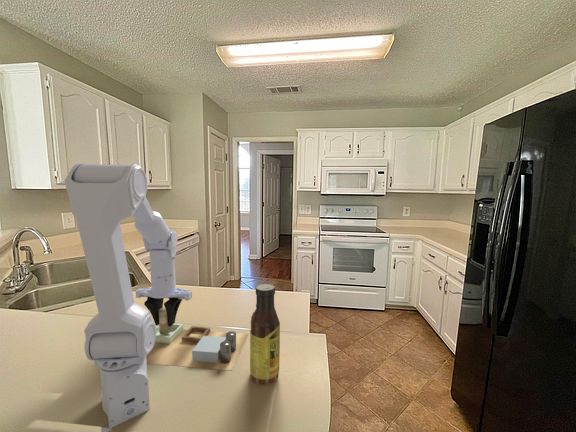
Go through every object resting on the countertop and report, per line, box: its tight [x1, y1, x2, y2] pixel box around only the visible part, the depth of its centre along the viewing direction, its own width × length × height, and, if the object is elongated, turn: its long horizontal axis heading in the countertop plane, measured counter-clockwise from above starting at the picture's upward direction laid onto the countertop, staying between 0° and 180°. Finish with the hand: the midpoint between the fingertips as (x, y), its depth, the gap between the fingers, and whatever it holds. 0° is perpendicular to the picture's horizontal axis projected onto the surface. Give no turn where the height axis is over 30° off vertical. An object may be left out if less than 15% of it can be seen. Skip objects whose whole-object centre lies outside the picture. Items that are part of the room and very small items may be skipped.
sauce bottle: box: [249, 283, 281, 386], centre depth 53 cm, size 7×6×20 cm
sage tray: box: [154, 323, 184, 344], centre depth 67 cm, size 6×6×2 cm
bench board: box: [146, 325, 249, 371], centre depth 63 cm, size 25×14×2 cm, turn 84°
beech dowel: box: [159, 306, 172, 334], centre depth 67 cm, size 3×3×6 cm
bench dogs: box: [220, 330, 237, 364], centre depth 60 cm, size 2×6×4 cm, turn 174°
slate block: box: [192, 336, 226, 363], centre depth 60 cm, size 6×6×2 cm
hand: (165, 324), depth 67 cm, fingers closed on beech dowel, 3 cm apart
